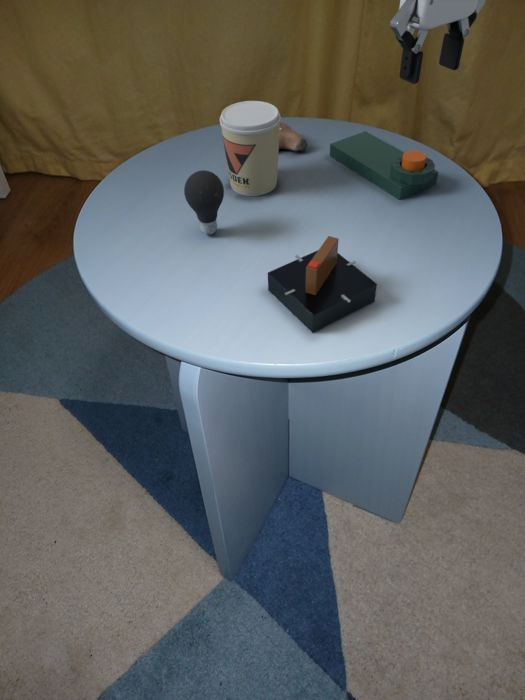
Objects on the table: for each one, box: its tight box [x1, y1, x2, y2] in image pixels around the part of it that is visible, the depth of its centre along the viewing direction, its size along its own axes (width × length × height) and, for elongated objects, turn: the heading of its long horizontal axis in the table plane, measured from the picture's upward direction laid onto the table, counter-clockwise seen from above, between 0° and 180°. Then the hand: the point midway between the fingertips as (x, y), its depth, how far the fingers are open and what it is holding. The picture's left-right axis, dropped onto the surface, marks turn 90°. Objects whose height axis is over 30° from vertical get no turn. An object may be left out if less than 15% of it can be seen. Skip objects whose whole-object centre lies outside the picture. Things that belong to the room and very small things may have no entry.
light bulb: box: [183, 169, 225, 236], centre depth 80 cm, size 6×6×10 cm
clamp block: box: [267, 249, 378, 334], centre depth 72 cm, size 11×11×3 cm
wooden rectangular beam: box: [306, 235, 339, 295], centre depth 69 cm, size 7×1×4 cm, turn 153°
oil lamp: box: [279, 121, 308, 152], centre depth 100 cm, size 9×4×8 cm
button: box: [401, 149, 427, 171], centre depth 87 cm, size 4×4×2 cm
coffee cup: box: [219, 100, 282, 197], centre depth 88 cm, size 9×9×12 cm
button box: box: [329, 130, 439, 200], centre depth 93 cm, size 19×8×4 cm, turn 33°
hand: (429, 72), depth 77 cm, fingers open, 6 cm apart
